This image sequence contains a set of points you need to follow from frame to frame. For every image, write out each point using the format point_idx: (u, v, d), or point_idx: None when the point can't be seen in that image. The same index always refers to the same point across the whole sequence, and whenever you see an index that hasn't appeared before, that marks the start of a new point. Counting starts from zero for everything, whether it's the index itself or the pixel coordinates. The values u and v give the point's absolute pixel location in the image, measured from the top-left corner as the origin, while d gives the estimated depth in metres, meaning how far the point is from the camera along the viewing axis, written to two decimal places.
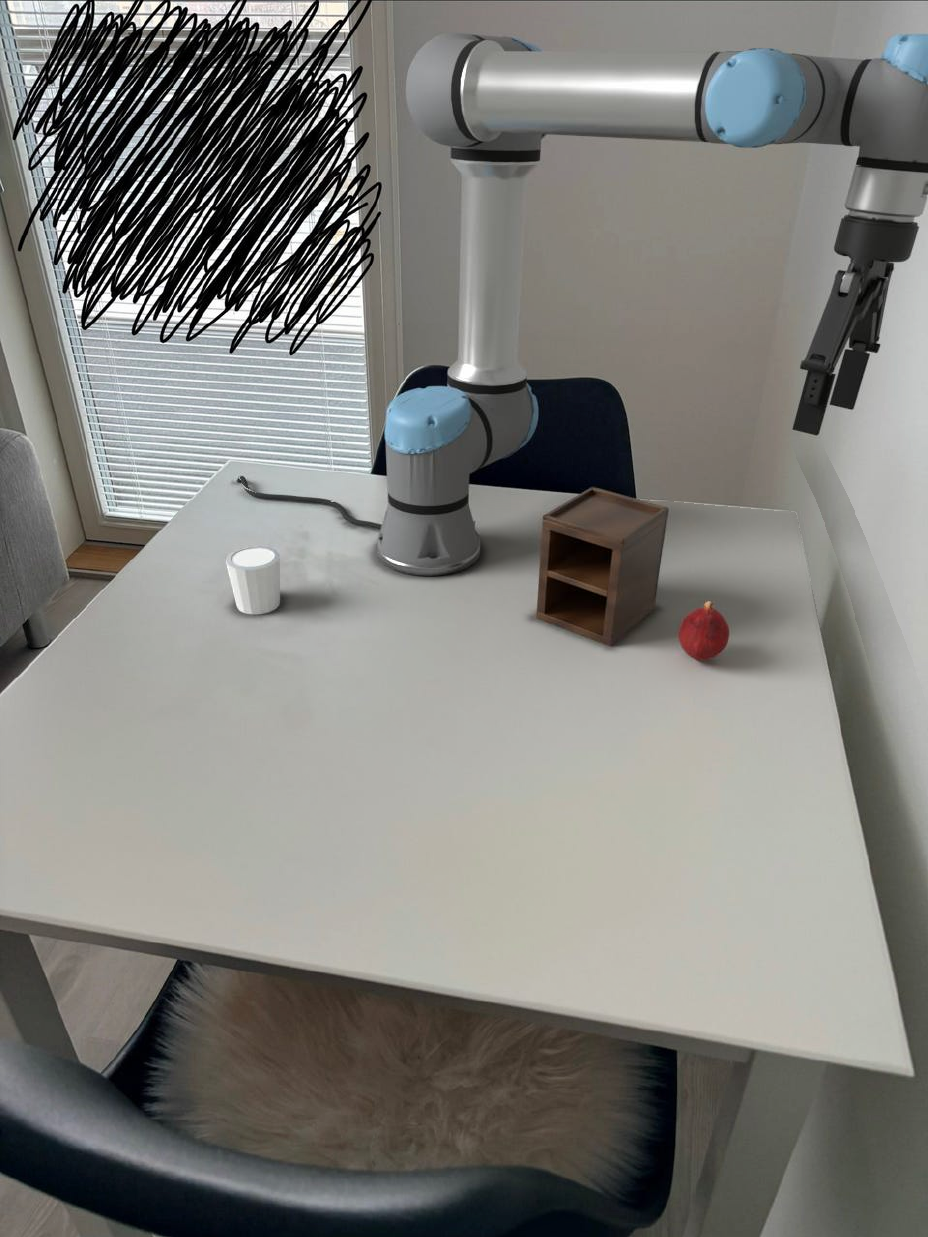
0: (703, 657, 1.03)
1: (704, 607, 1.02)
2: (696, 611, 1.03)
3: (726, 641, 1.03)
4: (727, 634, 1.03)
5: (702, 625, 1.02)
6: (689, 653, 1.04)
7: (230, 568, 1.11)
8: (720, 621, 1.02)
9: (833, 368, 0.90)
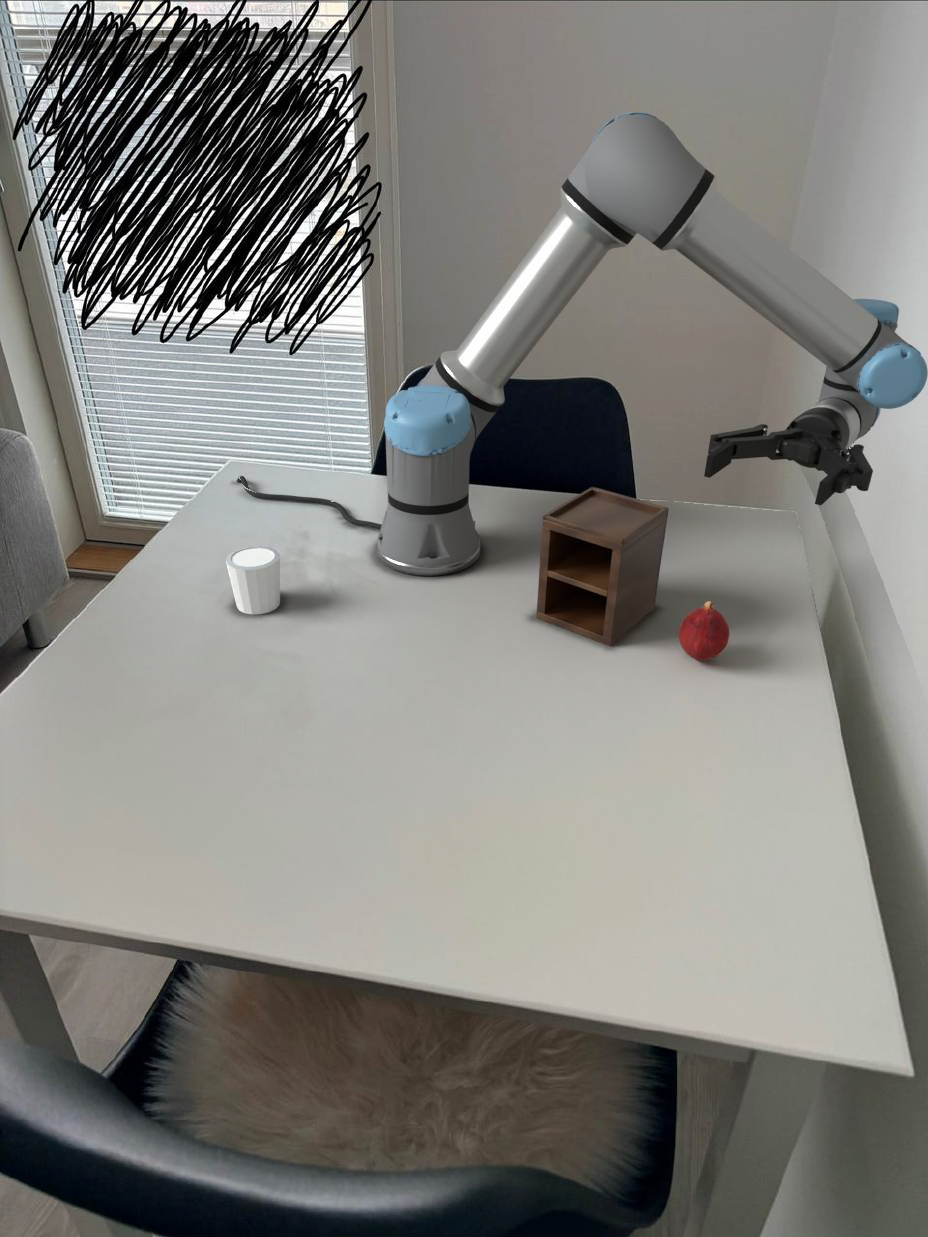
0: (703, 657, 1.03)
1: (704, 607, 1.02)
2: (696, 611, 1.03)
3: (726, 641, 1.03)
4: (727, 634, 1.03)
5: (702, 625, 1.02)
6: (689, 653, 1.04)
7: (230, 568, 1.11)
8: (720, 621, 1.02)
9: None
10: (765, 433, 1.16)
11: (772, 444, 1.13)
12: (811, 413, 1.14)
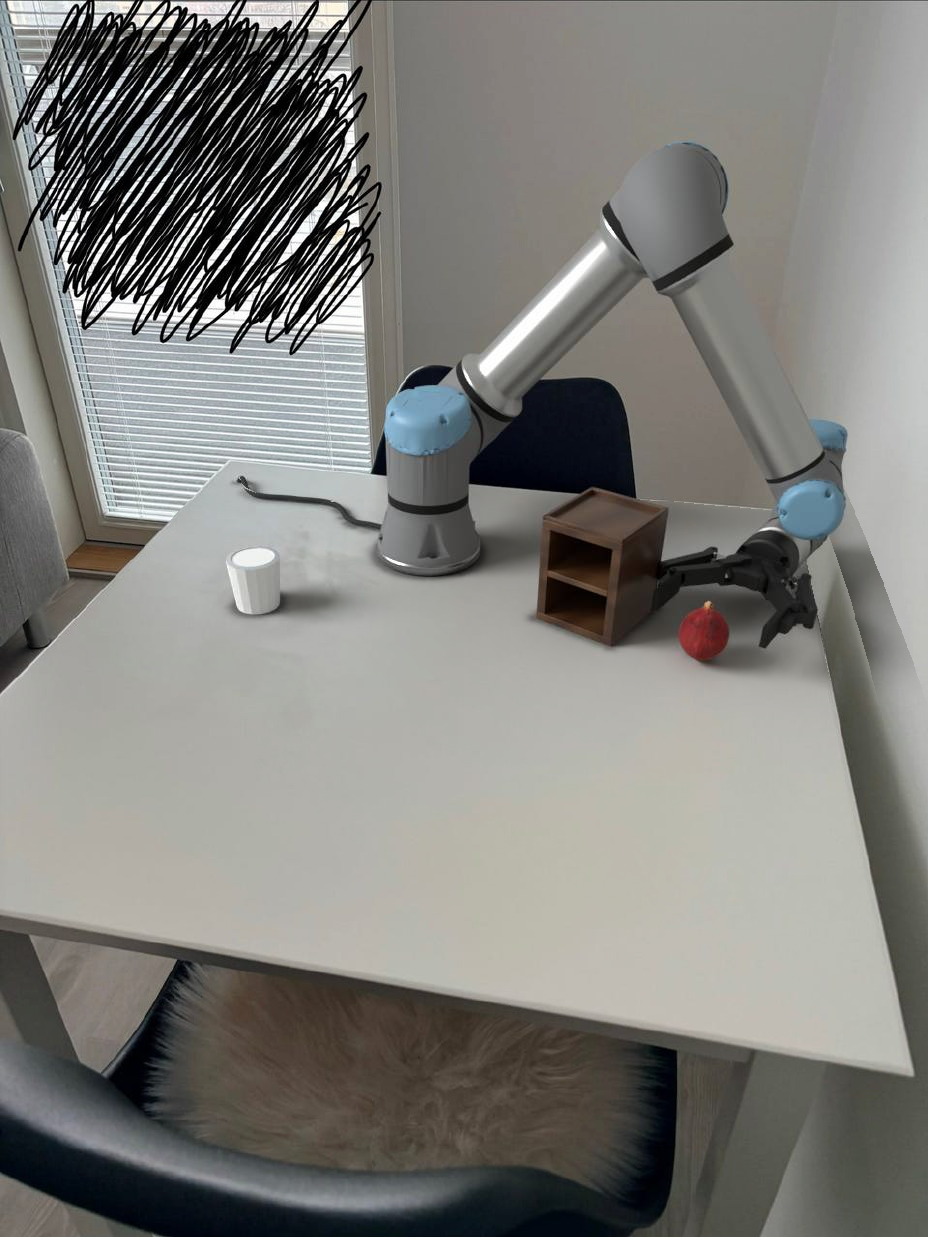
0: (703, 657, 1.03)
1: (704, 607, 1.02)
2: (696, 611, 1.03)
3: (726, 641, 1.03)
4: (727, 634, 1.03)
5: (702, 625, 1.02)
6: (689, 653, 1.04)
7: (230, 568, 1.11)
8: (720, 621, 1.02)
9: None
10: (715, 557, 1.15)
11: (721, 571, 1.12)
12: (760, 538, 1.14)
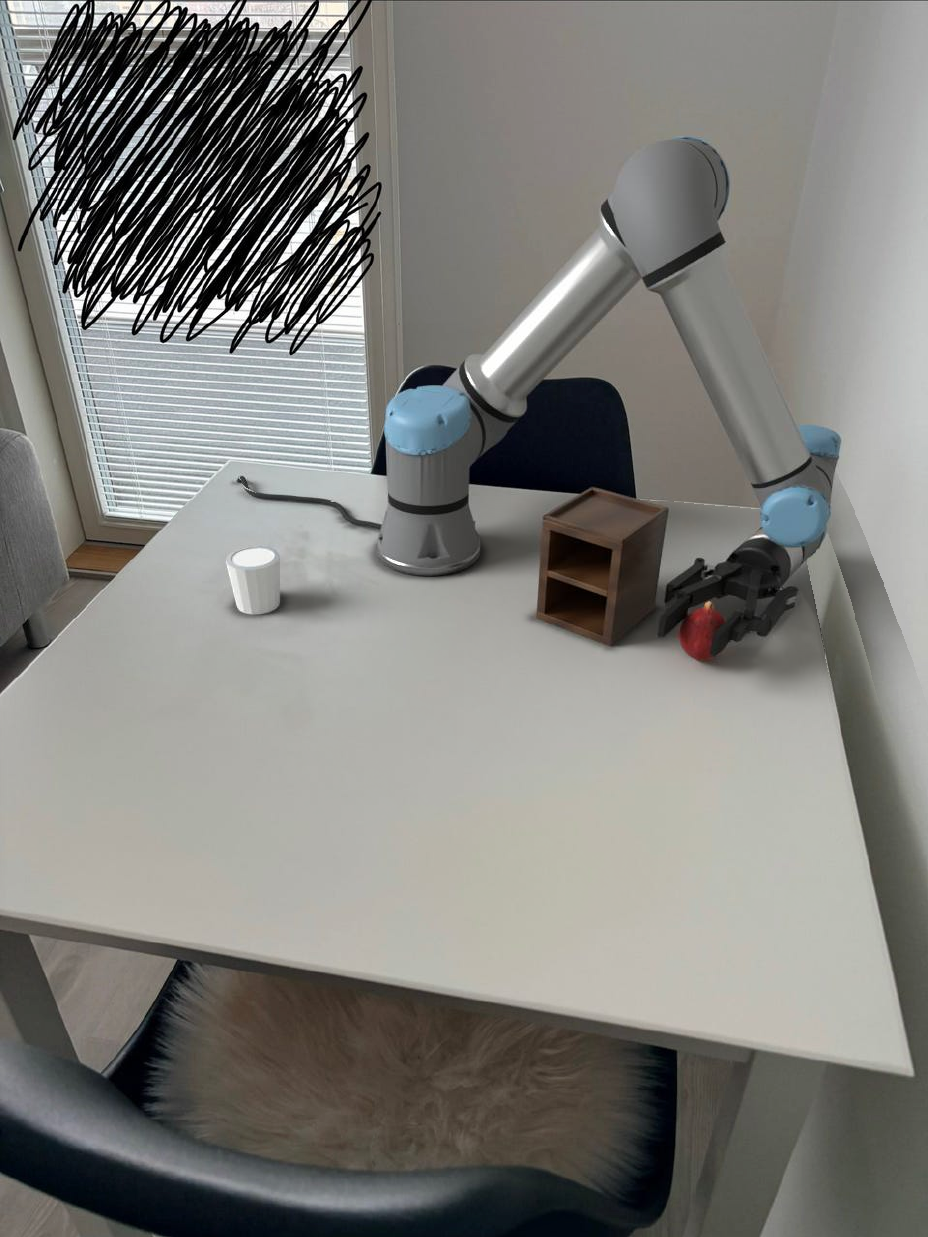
0: (703, 657, 1.03)
1: (704, 607, 1.02)
2: (696, 611, 1.03)
3: None
4: None
5: (702, 625, 1.02)
6: (689, 653, 1.04)
7: (230, 568, 1.11)
8: (720, 621, 1.02)
9: None
10: (706, 569, 1.12)
11: (719, 585, 1.09)
12: (751, 546, 1.12)
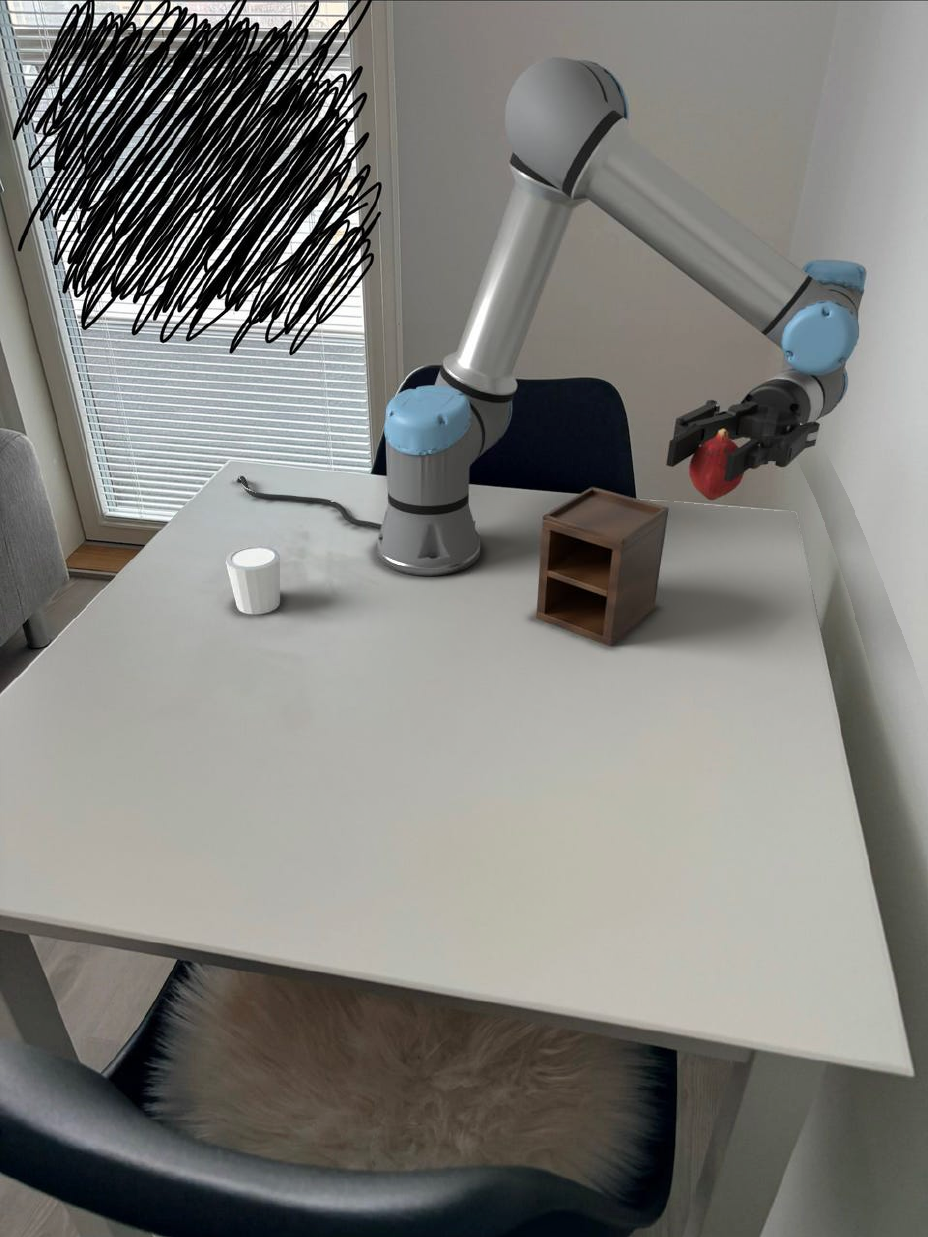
0: (716, 491, 0.94)
1: (718, 435, 0.93)
2: (709, 440, 0.94)
3: (742, 473, 0.93)
4: None
5: (715, 454, 0.92)
6: (701, 488, 0.95)
7: (230, 568, 1.11)
8: None
9: None
10: (719, 410, 1.03)
11: (733, 422, 1.00)
12: (767, 384, 1.02)
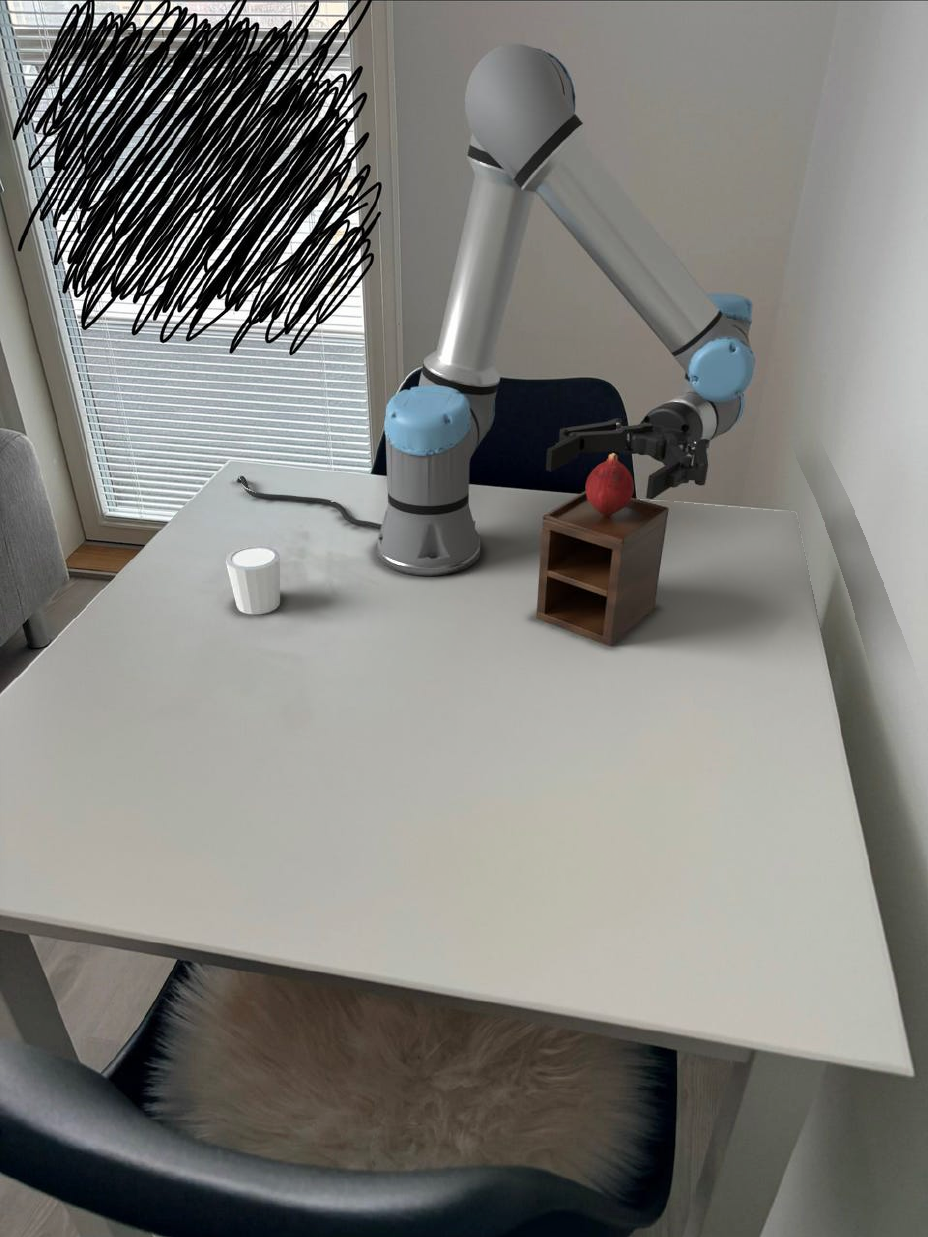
0: (608, 509, 1.05)
1: (608, 458, 1.05)
2: (601, 463, 1.05)
3: (630, 492, 1.05)
4: (631, 485, 1.05)
5: (605, 475, 1.04)
6: (595, 506, 1.06)
7: (230, 568, 1.11)
8: (623, 472, 1.04)
9: None
10: (618, 427, 1.15)
11: (621, 438, 1.12)
12: (662, 407, 1.14)
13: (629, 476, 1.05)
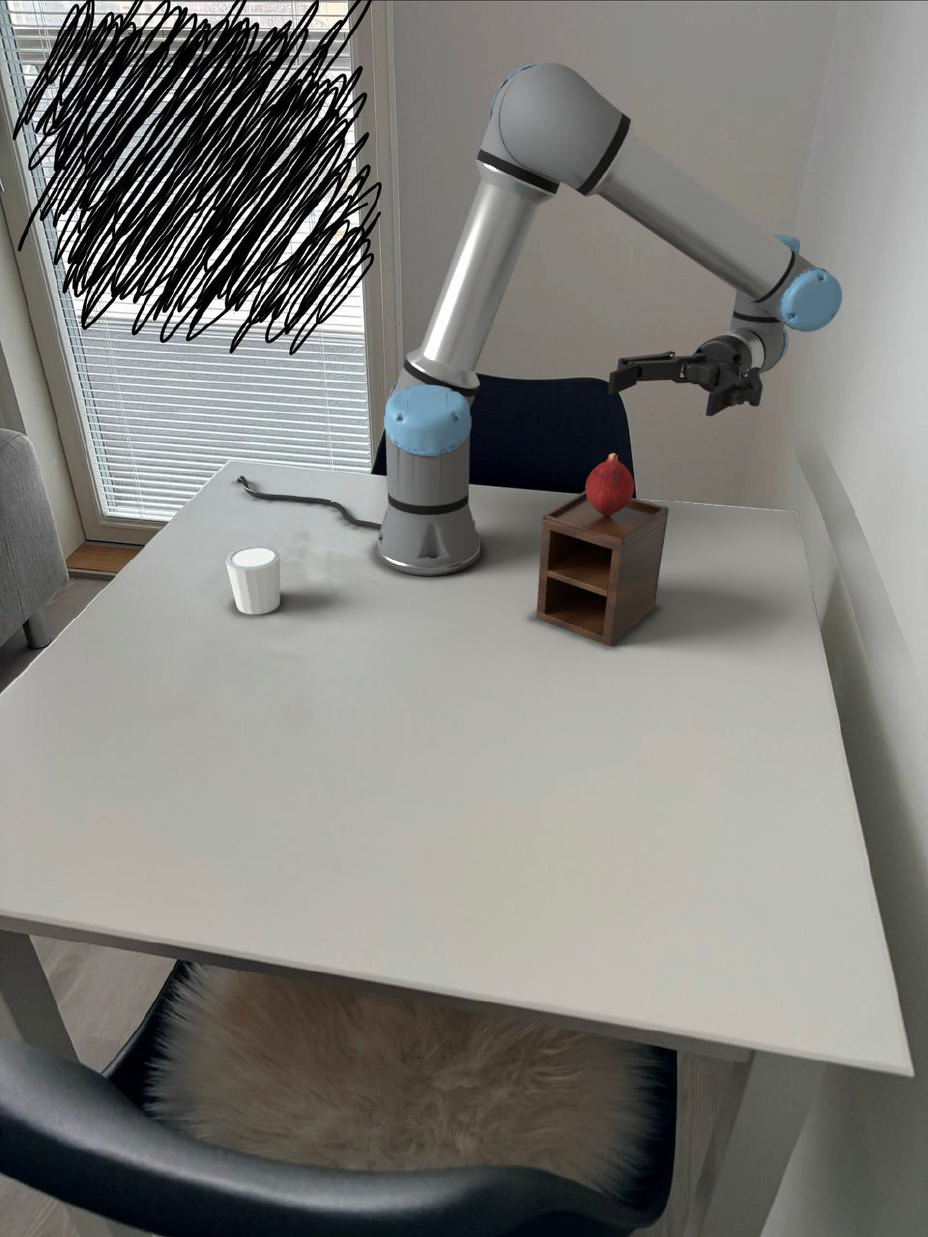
0: (608, 509, 1.05)
1: (608, 458, 1.05)
2: (601, 463, 1.05)
3: (630, 492, 1.05)
4: (631, 485, 1.05)
5: (605, 475, 1.04)
6: (595, 506, 1.06)
7: (230, 568, 1.11)
8: (623, 472, 1.04)
9: (740, 403, 1.11)
10: (672, 359, 1.22)
11: (676, 367, 1.19)
12: (714, 339, 1.20)
13: (629, 476, 1.05)
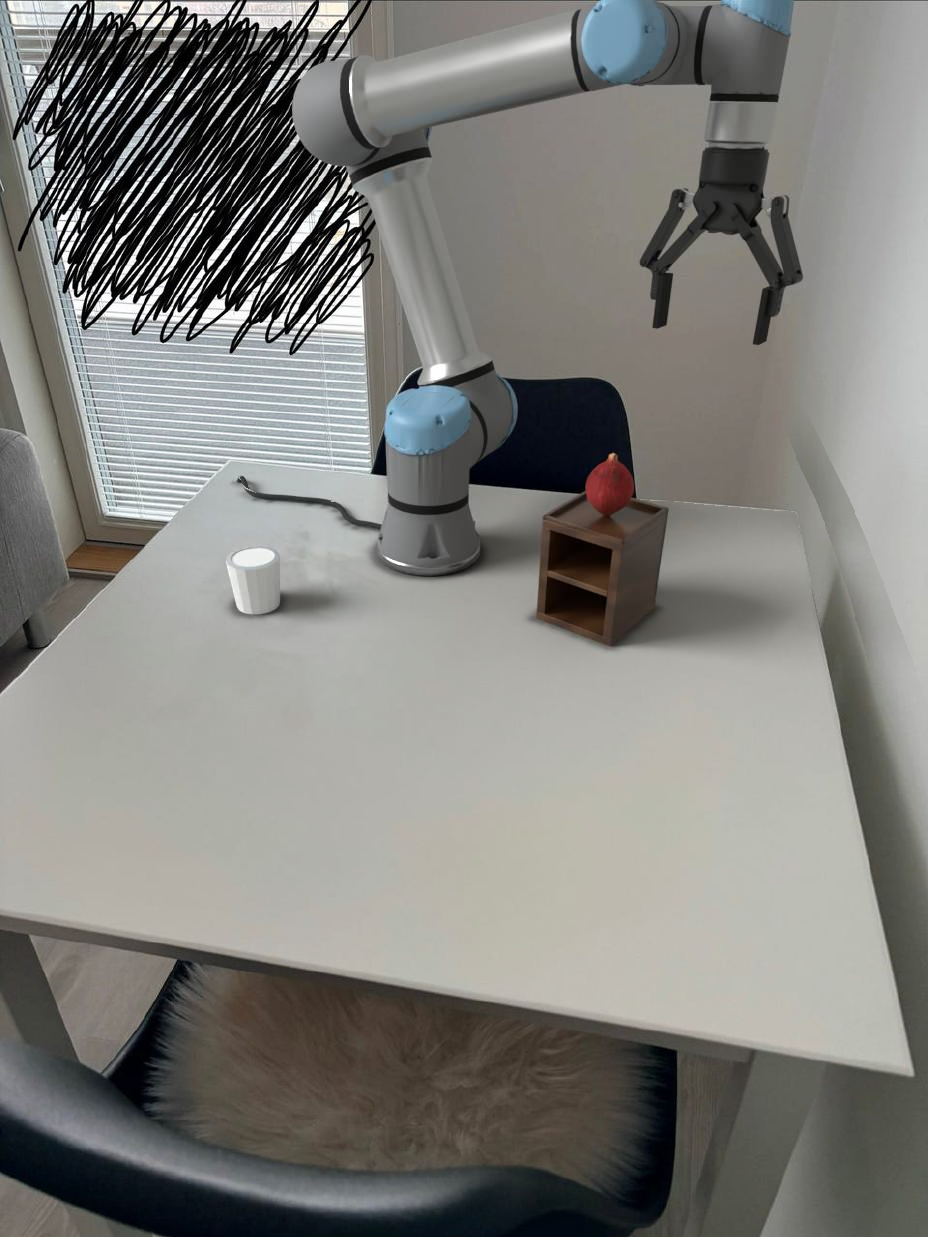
0: (608, 509, 1.05)
1: (608, 458, 1.05)
2: (601, 463, 1.05)
3: (630, 492, 1.05)
4: (631, 485, 1.05)
5: (605, 475, 1.04)
6: (595, 506, 1.06)
7: (230, 568, 1.11)
8: (623, 472, 1.04)
9: None
10: (683, 206, 1.07)
11: (696, 234, 1.07)
12: (711, 181, 1.01)
13: (629, 476, 1.05)
